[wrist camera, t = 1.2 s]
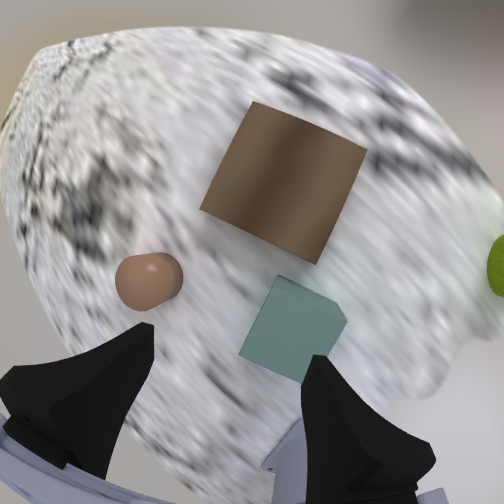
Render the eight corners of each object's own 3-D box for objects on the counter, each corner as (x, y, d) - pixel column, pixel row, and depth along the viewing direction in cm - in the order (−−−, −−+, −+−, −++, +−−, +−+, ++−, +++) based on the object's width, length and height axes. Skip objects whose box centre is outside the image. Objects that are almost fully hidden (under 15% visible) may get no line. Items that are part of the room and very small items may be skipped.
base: (361, 156, 20) (367, 149, 18) (313, 262, 21) (315, 265, 19) (256, 111, 21) (253, 101, 19) (207, 211, 22) (199, 209, 20)
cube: (336, 302, 21) (347, 321, 16) (305, 356, 22) (308, 386, 17) (278, 274, 22) (273, 285, 17) (250, 329, 22) (238, 354, 17)
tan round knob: (190, 265, 22) (169, 271, 19) (173, 308, 23) (151, 321, 19) (150, 244, 23) (124, 246, 19) (135, 285, 23) (109, 294, 19)
